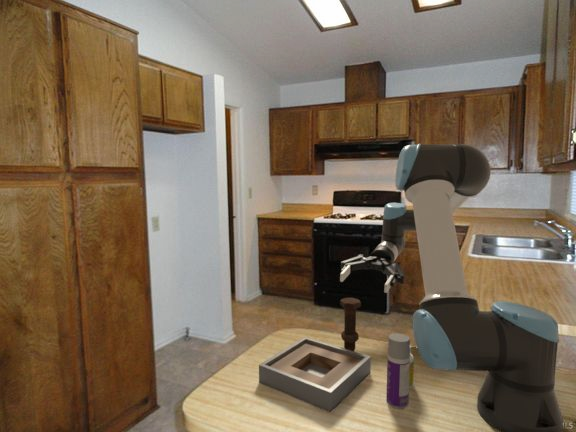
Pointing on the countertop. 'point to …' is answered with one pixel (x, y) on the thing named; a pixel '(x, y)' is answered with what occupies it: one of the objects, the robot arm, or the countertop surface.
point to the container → (398, 370)
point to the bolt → (350, 322)
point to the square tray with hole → (319, 357)
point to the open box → (312, 391)
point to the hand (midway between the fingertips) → (362, 283)
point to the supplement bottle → (411, 369)
